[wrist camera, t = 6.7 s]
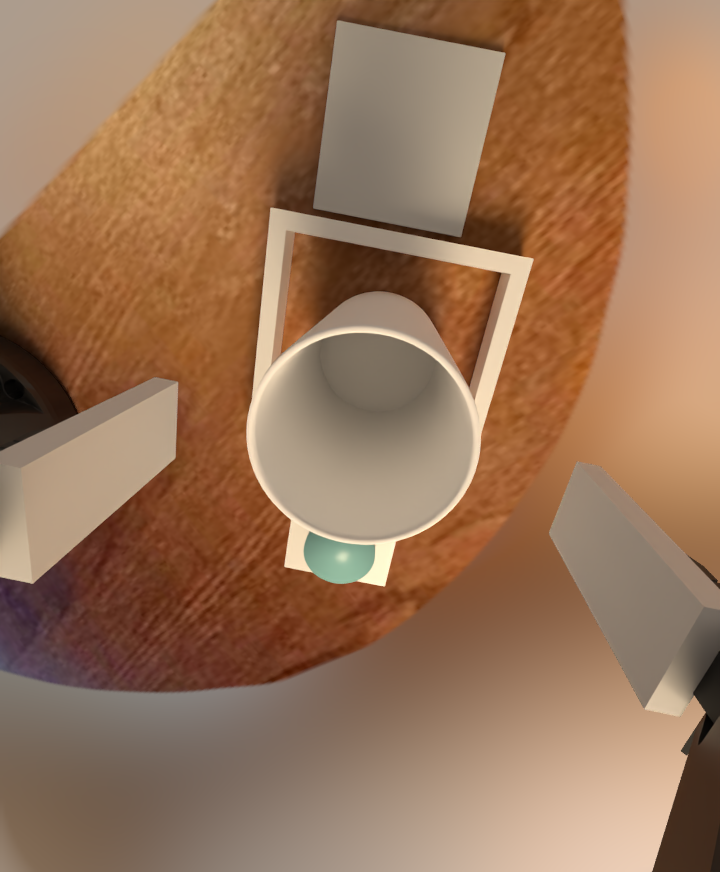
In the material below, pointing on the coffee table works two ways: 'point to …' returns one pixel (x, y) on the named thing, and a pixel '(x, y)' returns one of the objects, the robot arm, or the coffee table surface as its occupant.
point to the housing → (507, 264)
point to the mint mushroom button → (337, 559)
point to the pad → (404, 127)
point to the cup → (365, 424)
